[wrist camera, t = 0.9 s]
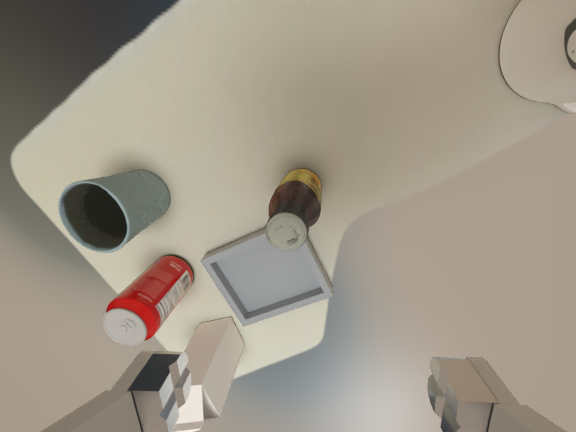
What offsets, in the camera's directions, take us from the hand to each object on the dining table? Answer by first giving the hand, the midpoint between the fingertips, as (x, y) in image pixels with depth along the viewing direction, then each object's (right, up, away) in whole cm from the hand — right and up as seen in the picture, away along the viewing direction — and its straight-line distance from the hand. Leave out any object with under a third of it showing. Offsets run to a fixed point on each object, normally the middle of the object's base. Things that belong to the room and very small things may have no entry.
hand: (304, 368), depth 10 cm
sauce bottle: (+2, +10, +36) cm, 37 cm away
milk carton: (-14, -19, +49) cm, 54 cm away
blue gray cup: (-25, +9, +40) cm, 48 cm away
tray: (-4, -4, +42) cm, 42 cm away
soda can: (-22, -5, +45) cm, 50 cm away
